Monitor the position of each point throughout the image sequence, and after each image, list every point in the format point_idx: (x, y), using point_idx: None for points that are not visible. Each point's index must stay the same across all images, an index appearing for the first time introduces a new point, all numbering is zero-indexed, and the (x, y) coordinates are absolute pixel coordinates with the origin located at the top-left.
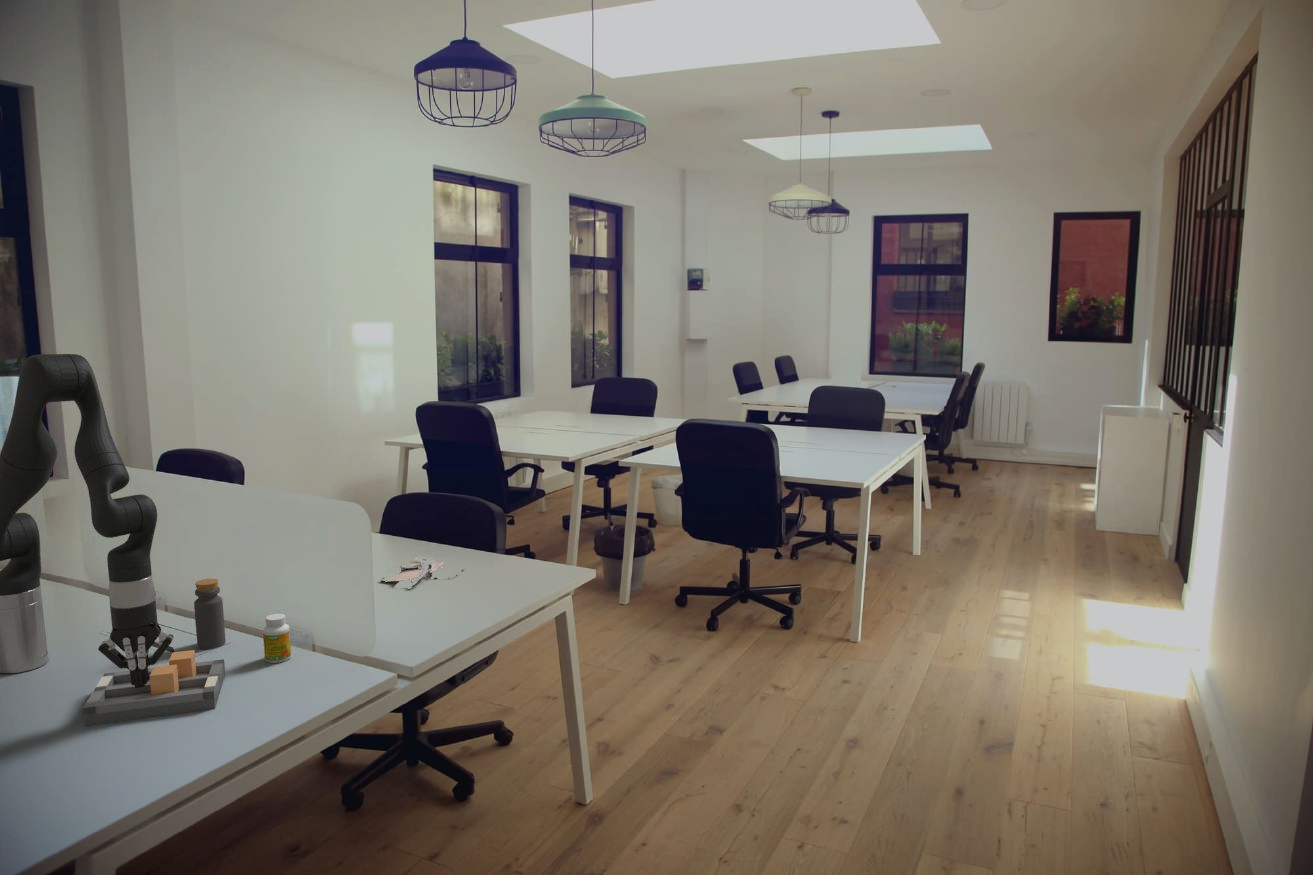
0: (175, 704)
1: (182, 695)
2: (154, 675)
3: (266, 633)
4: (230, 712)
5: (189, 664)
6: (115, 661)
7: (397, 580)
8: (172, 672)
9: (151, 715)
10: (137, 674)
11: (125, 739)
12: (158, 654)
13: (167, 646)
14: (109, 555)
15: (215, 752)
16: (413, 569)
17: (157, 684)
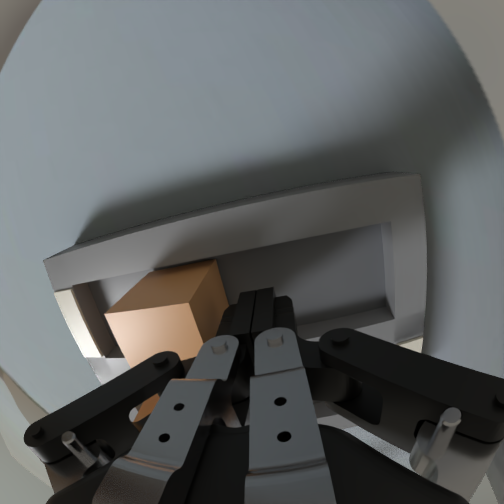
0: (133, 229)
1: (100, 242)
2: (169, 305)
3: None
4: (40, 219)
5: (146, 407)
6: (382, 352)
7: None
8: (110, 321)
9: (208, 207)
10: (254, 319)
11: (222, 62)
12: (114, 390)
13: (56, 413)
14: None
15: (30, 51)
16: None
17: (176, 286)
